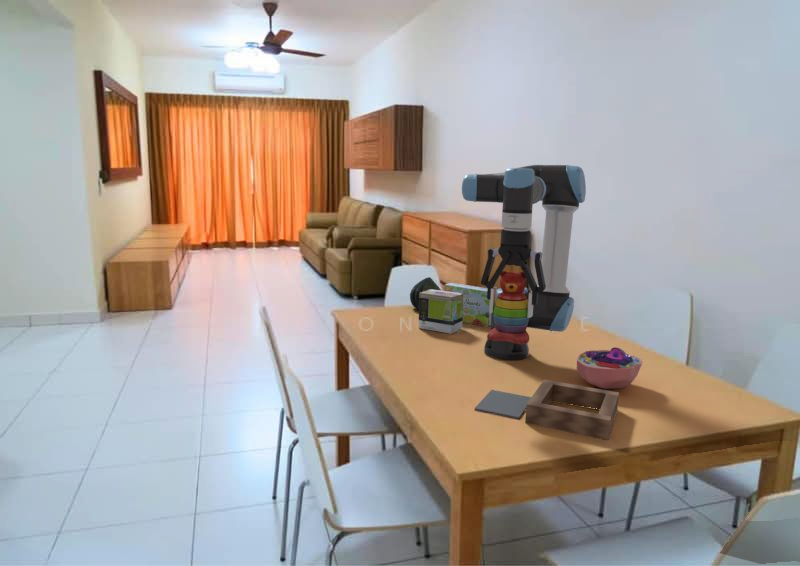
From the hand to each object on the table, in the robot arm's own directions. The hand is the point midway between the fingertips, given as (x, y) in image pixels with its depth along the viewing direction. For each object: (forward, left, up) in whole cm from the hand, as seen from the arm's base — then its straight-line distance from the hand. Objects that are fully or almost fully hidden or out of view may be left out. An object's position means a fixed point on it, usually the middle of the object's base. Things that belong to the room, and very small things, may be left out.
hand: (511, 314), depth 155 cm
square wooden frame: (+18, +1, -25) cm, 31 cm away
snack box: (-38, +78, -26) cm, 91 cm away
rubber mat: (0, 0, -25) cm, 25 cm away
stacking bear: (0, 0, -7) cm, 7 cm away
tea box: (-44, +62, -26) cm, 80 cm away
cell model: (+23, +29, -26) cm, 45 cm away
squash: (-62, +89, -26) cm, 112 cm away
